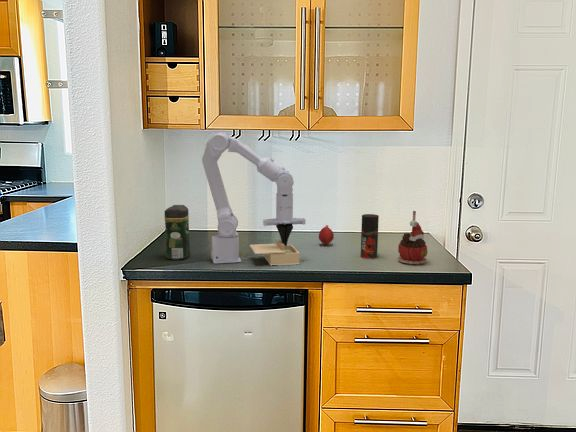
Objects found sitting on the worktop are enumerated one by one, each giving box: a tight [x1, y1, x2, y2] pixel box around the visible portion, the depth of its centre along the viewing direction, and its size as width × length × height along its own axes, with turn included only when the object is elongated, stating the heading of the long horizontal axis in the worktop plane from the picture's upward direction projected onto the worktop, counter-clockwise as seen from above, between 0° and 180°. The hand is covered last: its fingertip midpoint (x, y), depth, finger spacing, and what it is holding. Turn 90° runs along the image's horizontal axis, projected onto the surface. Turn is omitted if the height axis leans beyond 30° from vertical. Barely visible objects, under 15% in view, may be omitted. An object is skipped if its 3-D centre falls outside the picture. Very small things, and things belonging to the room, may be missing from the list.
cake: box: [397, 210, 428, 265], centre depth 190 cm, size 11×9×18 cm
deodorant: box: [360, 213, 380, 260], centre depth 197 cm, size 6×6×15 cm
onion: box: [318, 224, 335, 246], centre depth 215 cm, size 6×6×8 cm
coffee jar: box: [164, 204, 191, 261], centre depth 195 cm, size 10×8×19 cm
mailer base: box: [263, 244, 301, 267], centre depth 192 cm, size 10×12×4 cm
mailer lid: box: [249, 238, 285, 255], centre depth 190 cm, size 10×12×2 cm
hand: (284, 245), depth 192 cm, fingers closed
